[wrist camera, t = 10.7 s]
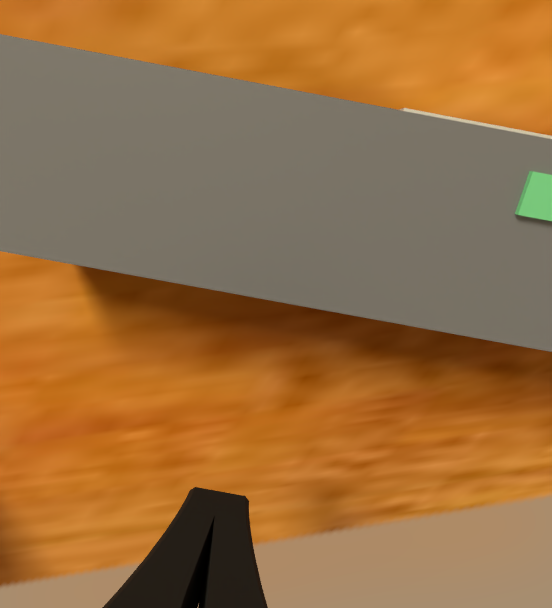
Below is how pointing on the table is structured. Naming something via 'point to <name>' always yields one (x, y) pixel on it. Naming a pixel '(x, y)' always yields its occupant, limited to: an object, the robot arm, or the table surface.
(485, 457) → the table surface
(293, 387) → the table surface
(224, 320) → the table surface
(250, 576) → the robot arm
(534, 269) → the charging dock
